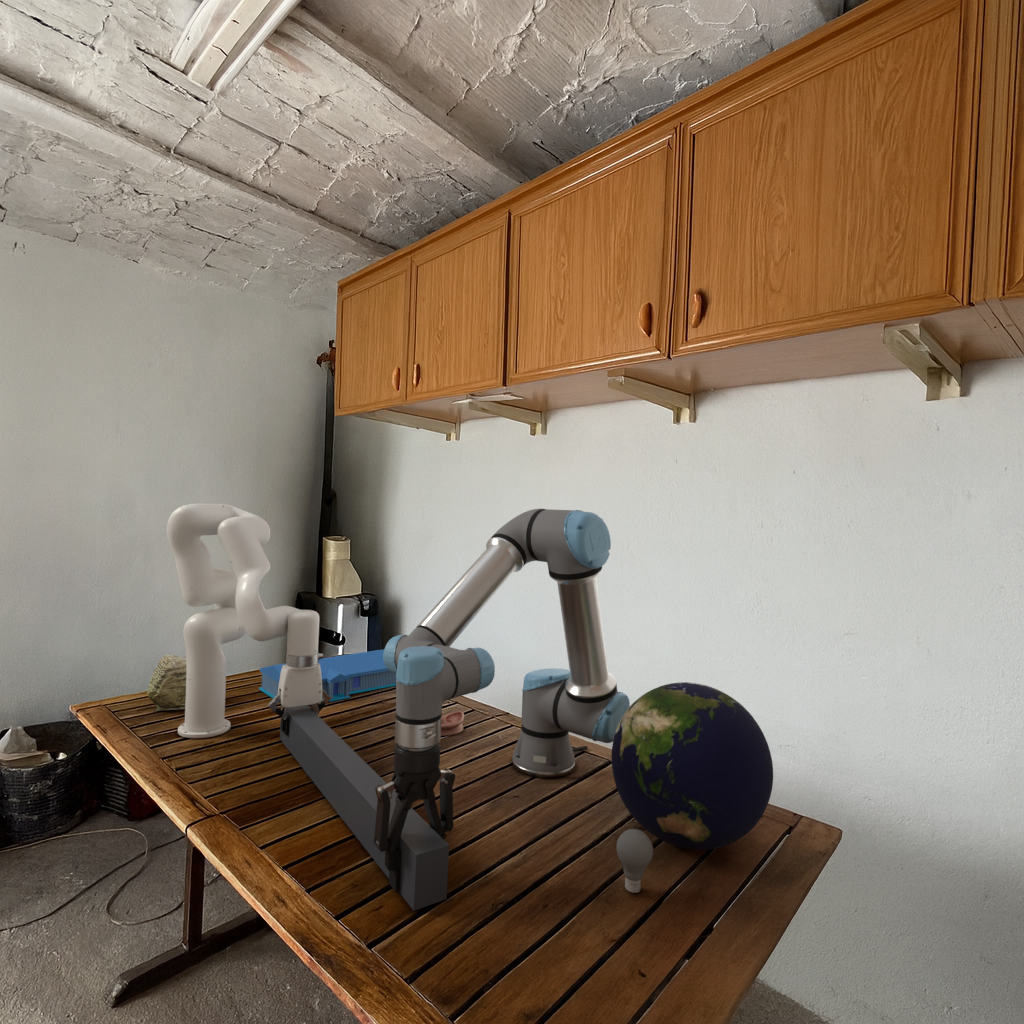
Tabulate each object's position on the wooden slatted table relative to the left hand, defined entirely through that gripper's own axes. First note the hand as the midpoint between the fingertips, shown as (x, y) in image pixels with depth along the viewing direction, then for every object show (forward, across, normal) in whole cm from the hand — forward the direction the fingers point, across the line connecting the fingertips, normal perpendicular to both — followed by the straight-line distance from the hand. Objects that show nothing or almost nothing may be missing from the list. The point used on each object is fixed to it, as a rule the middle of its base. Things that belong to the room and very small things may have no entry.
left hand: (298, 730), depth 159 cm
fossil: (+5, +20, -45) cm, 50 cm away
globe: (+4, -52, +80) cm, 95 cm away
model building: (+4, -23, -43) cm, 49 cm away
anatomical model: (+4, -37, +6) cm, 37 cm away
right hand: (+3, 0, +66) cm, 66 cm away
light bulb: (+4, -31, +86) cm, 92 cm away
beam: (+4, 0, +33) cm, 33 cm away
